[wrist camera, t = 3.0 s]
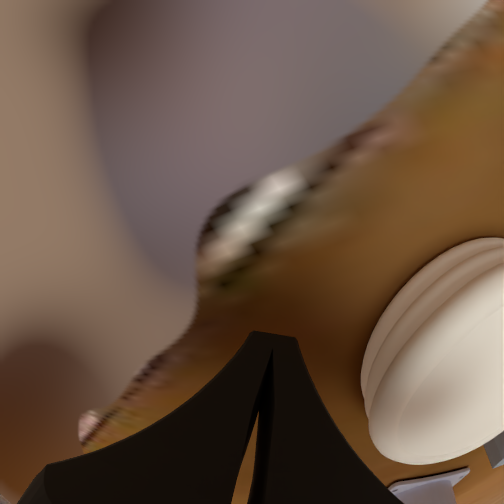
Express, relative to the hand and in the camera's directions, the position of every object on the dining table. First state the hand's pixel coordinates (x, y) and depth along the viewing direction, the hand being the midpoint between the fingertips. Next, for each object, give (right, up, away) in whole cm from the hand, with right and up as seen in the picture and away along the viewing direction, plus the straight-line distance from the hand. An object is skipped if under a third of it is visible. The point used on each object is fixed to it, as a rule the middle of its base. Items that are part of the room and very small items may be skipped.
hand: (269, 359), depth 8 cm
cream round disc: (+9, -1, +1) cm, 9 cm away
